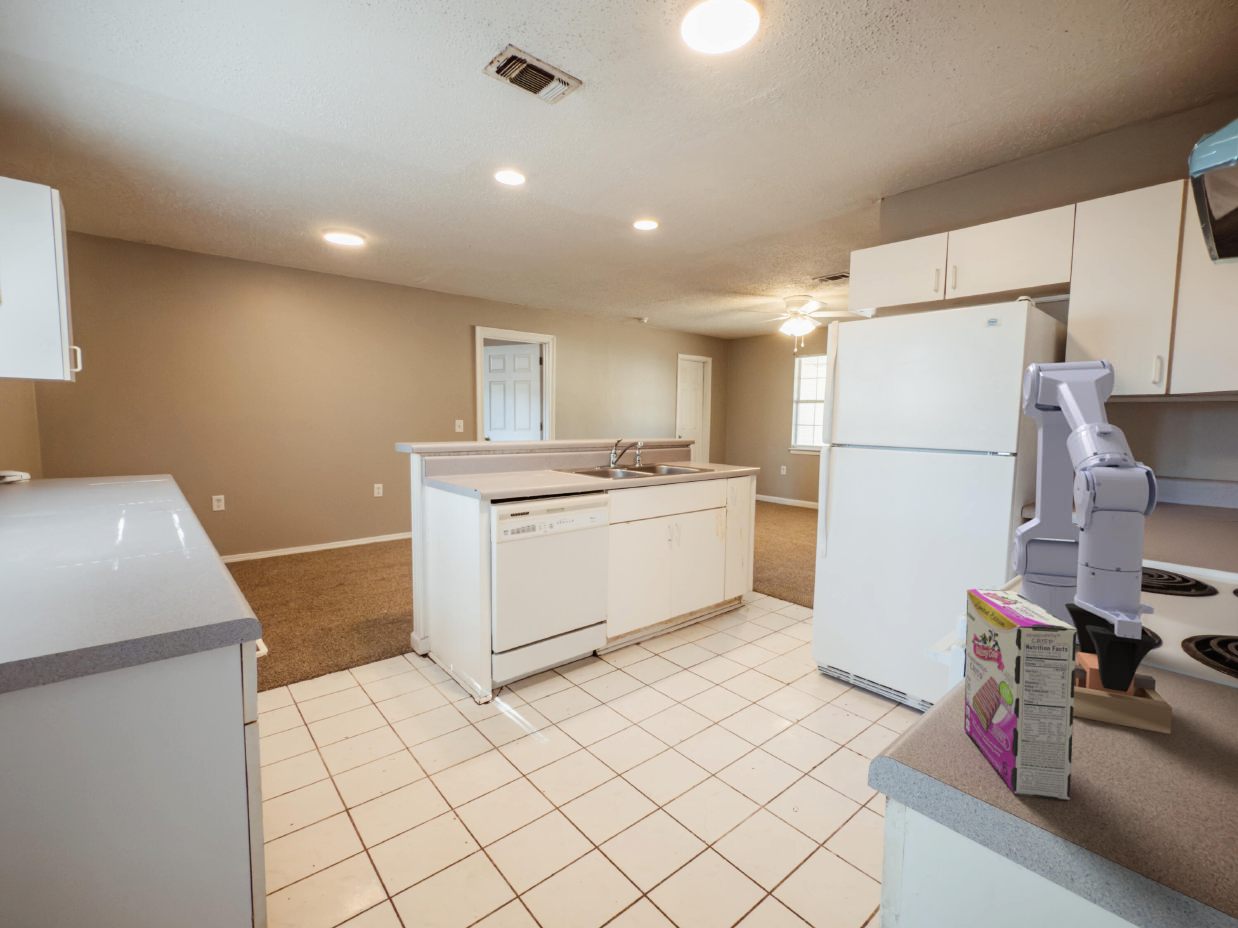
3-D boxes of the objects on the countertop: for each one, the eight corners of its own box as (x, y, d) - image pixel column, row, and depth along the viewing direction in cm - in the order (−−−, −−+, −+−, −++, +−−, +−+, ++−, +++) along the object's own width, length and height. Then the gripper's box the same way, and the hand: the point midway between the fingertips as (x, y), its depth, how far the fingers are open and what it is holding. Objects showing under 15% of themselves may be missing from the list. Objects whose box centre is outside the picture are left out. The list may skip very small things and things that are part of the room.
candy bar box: (960, 729, 60) (964, 587, 59) (1009, 734, 59) (1015, 589, 58) (1011, 796, 49) (1017, 623, 48) (1073, 803, 48) (1081, 626, 47)
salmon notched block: (1075, 685, 69) (1077, 651, 68) (1116, 692, 67) (1118, 657, 67) (1087, 703, 64) (1089, 667, 64) (1132, 711, 63) (1134, 674, 62)
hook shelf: (1046, 679, 72) (1047, 648, 72) (1135, 693, 68) (1137, 661, 68) (1066, 714, 63) (1068, 680, 63) (1170, 733, 59) (1172, 697, 59)
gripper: (1182, 585, 56) (1175, 710, 57) (1130, 556, 69) (1125, 658, 70) (1095, 577, 60) (1089, 696, 60) (1061, 551, 72) (1056, 648, 73)
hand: (1103, 675), depth 65 cm, fingers open, 7 cm apart
